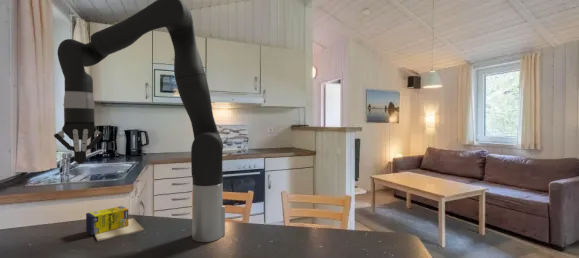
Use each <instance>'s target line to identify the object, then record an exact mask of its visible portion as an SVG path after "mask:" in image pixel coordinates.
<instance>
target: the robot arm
mask: <svg viewBox="0 0 579 258" xmlns="http://www.w3.org/2000/svg"><path fill="white" fill-rule="evenodd" d="M194 27H195V26H194V21H193V15H192V13H191V11H190V9H189V8H188V7H187V6H186V5H185V3H184V2H183V1H182V0H155V1H154V2H151V3H150V4H149V5H147V6H146V7H144V8H142V9H141V10H139V11H138V12H136V13H134V14H132V15H130V17H127V18H126V19H124V20H121V21H120V22H117V23H115V24H113V25H110V26H108V27H106V28H103V29H101V30H98V31H96V32H93V34H91V36H90V42H87V43H84V42H81V41H79V40H76V39H74V38H73V39H72V38H67V39H63V40H62V41H61V42H60V43H59V45H58V47H57V59H58V62H59V65H60V69H61V73H62V75H63V78H64V95H63V96H64V97H63V105H62V106H63V120H64V121H63V123H64V124H63V126H62V129H61V130H60V131H58V132H57V133H54V134H53V137H54V138H55V139H56V140H57V141H58V142H60V144H61V145H63V146H64V147H65V149H67V150H69V151H73V160H74V163H77V164H78V165H81V164H84V162H86V161H87V151H88V150H92V149H93V148H95V146H96V145H97V144H98V143H99V142H100V141H101V139H103V137H104V136H105V133H103V132H101V131H99V130H98V129H97V126H96V125H95V99H94V80H93V77H92V76H91V75H90V74H89V73H87V72H86V69H85V68H87V67H92V66H95V65H97V64H99V63H100V62H102V61H103V60H104V59H106V58H107V57H108V56H109V55H112V54H115V53H116V52H120V51H121V50H124V49H126V48H128V47H130V46H132V45H133V44H134V43H135V42H137V41H138V40H139V39H140V38H141V37H143V36H144V35H146V34H147V33H149V32H151V31H155V30H157V29H161V28H166V29H167V31H168V34H169V37H170V39H171V42H172V46H173V50H174V61H173V62H174V63H173V72H174V73H173V74H174V79H175V83H176V84H175V85H176V88H177V92H178V94H179V98H180V99H181V100H180V101H182V102H181V103H182V105H183V107H184V109H185V111H186V113H187V115H188V117H189V120H190V123H191V128H192V133H193V141H192V143H191V148H190V149H191V150H190V151H191V152H190V153H191V154H190V159H191V161H190V162H191V163H190V164H191V168H190V169H191V170H190V171H191V177H192V202H191V203H192V206H191V207H192V208H191V210H192V212H191V213H192V218H191V219H192V220H191V221H192V223H191V224H192V227H191V228H192V229H191V235H192V236H191V238H192V240H193V241H195V242H199V243H209V242H214V241H217V240H219V239H221V238H222V237H223V236H226V207H225V206H226V205H224V204H223V198H224V197H223V194H224V193H223V192H224V190H223V188H224V187H223V184H224V183H223V182H224V181H223V180H224V178H223V177H224V173H223V154H224V153H223V150H224V143H223V139H222V138H221V135H220V132H219V130H218V127H217V125H216V121H215V118H214V114H213V106H212V99H211V94H210V93H211V92H210V87H209V84H208V80H207V77H206V76H207V75H206V72H205V68H204V64H203V63H202V59H201V55H200V52H199V49H198V45H197V41H196V35H195V28H194ZM65 135H66V136H67V137H68V138H69V139H70V140H72V144H73V145H70V143H68V141H66V140H65V137H66V136H65ZM93 135H94V138H93V139H92V141H90V142H89V144H88V140H89V139H90V138H91V137H92V136H93Z"/></svg>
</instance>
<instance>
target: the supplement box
mask: <svg viewBox="0 0 579 258" xmlns="http://www.w3.org/2000/svg"><path fill="white" fill-rule="evenodd" d="M85 218H86V219H85V224H86V225H85V226H86V227H85V230H86V232H87V233H89V234H90V235H91V236H93V235H94V234H98V233H102V232H106V231H110V230H114V229H118V228H121V227H125V226H129V222H128V219H129V208H127V207H125V206H122V205H120V206H115V207H109V208H105V209H100V210H99V209H98V210H96V211H90V212H86V213H85ZM94 236H95V235H94Z"/></svg>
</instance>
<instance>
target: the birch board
mask: <svg viewBox="0 0 579 258" xmlns="http://www.w3.org/2000/svg"><path fill="white" fill-rule="evenodd" d="M128 222H129V226H125V227H121V228H118V229H114V230H110V231H106V232H102V233H98V234H94V237H95V239H96V241H97V242H99V241H100V242H101V241H104V240H105V241H106V240H109V239H113V238H118V237H122V236H127V235H131V234H137V233H140V232H141V233H142V232H144V231H145V229H144V228H143V227H142V225H140V224H139V222H137V221H136V219H135V218H128Z"/></svg>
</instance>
